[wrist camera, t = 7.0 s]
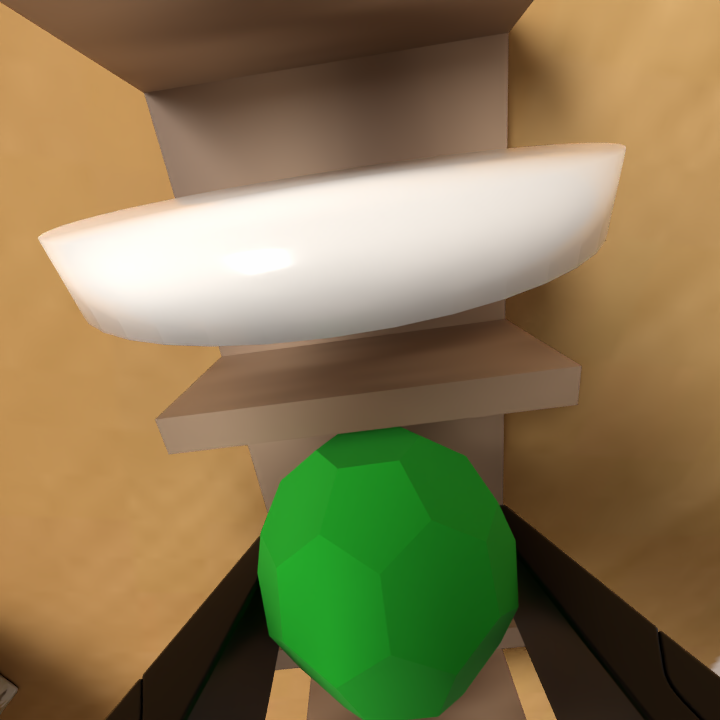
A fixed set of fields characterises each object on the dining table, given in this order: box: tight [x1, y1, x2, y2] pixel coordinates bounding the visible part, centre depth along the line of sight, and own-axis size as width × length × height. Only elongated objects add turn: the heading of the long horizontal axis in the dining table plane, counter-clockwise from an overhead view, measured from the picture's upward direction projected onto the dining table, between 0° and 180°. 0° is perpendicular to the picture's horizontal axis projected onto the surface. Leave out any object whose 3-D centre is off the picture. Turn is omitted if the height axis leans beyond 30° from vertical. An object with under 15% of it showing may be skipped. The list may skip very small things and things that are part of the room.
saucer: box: [38, 143, 626, 346], centre depth 5 cm, size 7×2×7 cm, turn 98°
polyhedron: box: [257, 426, 519, 720], centre depth 7 cm, size 5×5×5 cm
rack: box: [0, 0, 581, 720], centre depth 10 cm, size 8×22×4 cm, turn 8°
